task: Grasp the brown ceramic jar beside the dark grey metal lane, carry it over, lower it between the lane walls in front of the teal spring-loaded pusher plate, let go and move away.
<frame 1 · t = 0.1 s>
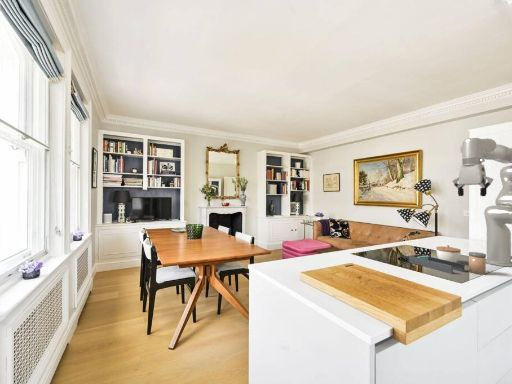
hand: (471, 196, 128), 37 cm above the countertop, tool pointing down, fingers open, 9 cm apart
pusher: (422, 259, 135), point 2 cm above the countertop, slide at 0.0 cm
jar: (477, 272, 120), on the countertop
lane: (434, 266, 130), on the countertop
lidded jar: (448, 262, 138), on the countertop
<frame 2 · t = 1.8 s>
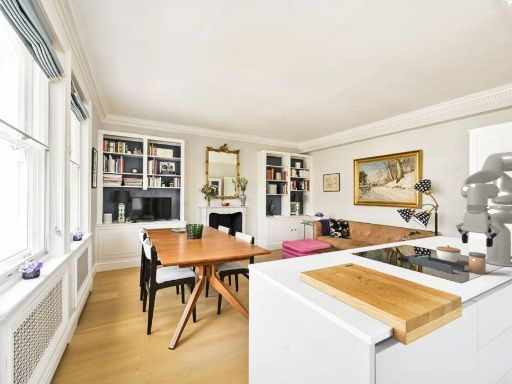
hand: (476, 244, 120), 13 cm above the countertop, tool pointing down, fingers open, 9 cm apart
nothing on the countertop moved.
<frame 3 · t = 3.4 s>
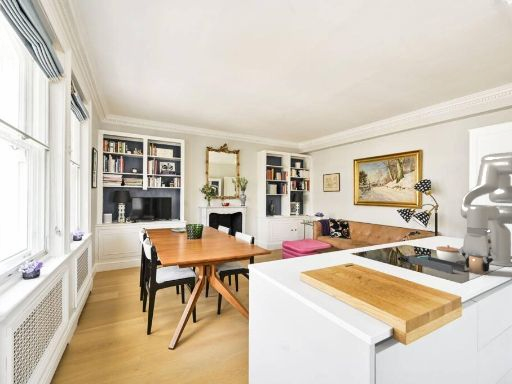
hand: (477, 268, 120), 2 cm above the countertop, tool pointing down, fingers closed on jar, 6 cm apart
jar: (477, 272, 120), on the countertop, touching gripper
everything else where it was.
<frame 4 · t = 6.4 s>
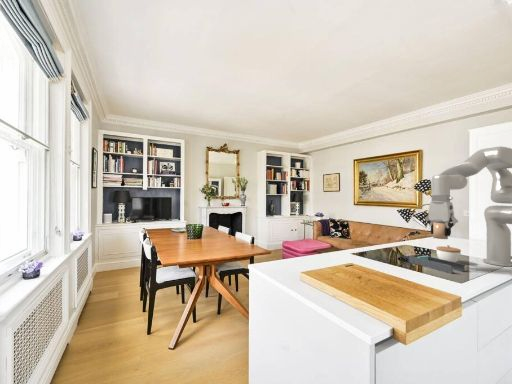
hand: (440, 234, 127), 17 cm above the countertop, tool pointing down, fingers closed on jar, 6 cm apart
jar: (440, 238, 127), point 15 cm above the countertop, touching gripper
everything else where it was.
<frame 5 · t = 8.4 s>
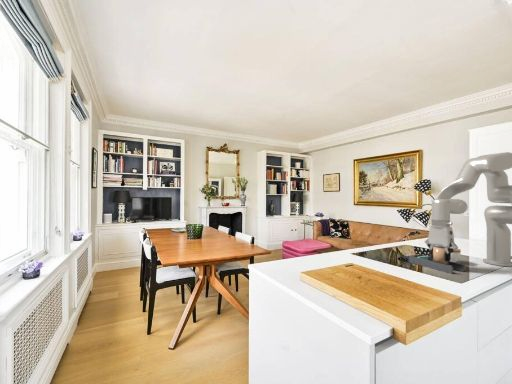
hand: (440, 259, 127), 5 cm above the countertop, tool pointing down, fingers closed on jar, 6 cm apart
jar: (440, 262, 127), point 3 cm above the countertop, touching gripper
everything else where it was.
when the fingers open (3 cm above the countertop, at t = 9.7 s): jar drops 1 cm, resting in lane.
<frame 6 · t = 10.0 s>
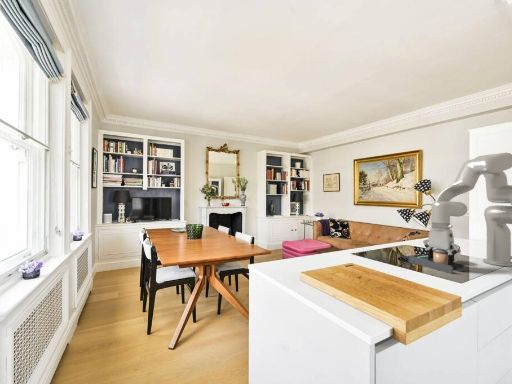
hand: (440, 260, 127), 4 cm above the countertop, tool pointing down, fingers open, 9 cm apart
jar: (440, 268, 127), resting in lane
everything else where it was.
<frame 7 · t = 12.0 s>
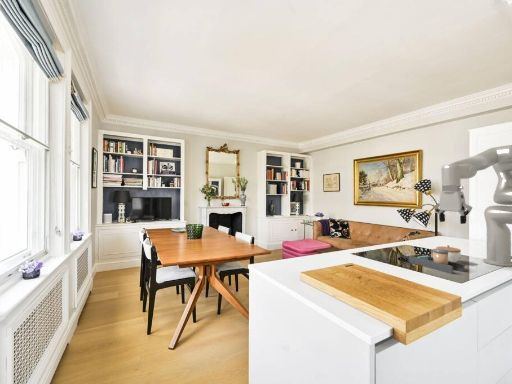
hand: (452, 222, 128), 23 cm above the countertop, tool pointing down, fingers open, 9 cm apart
nothing on the countertop moved.
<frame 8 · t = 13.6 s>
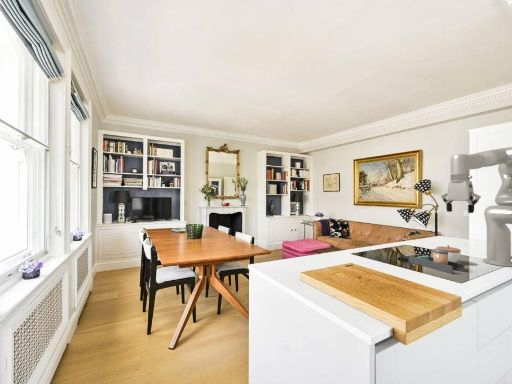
hand: (459, 212, 128), 28 cm above the countertop, tool pointing down, fingers open, 9 cm apart
nothing on the countertop moved.
at the end: jar inside the target area (0.0 cm from its centre), resting in lane; jar tilted 0°; the gripper is holding nothing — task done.
